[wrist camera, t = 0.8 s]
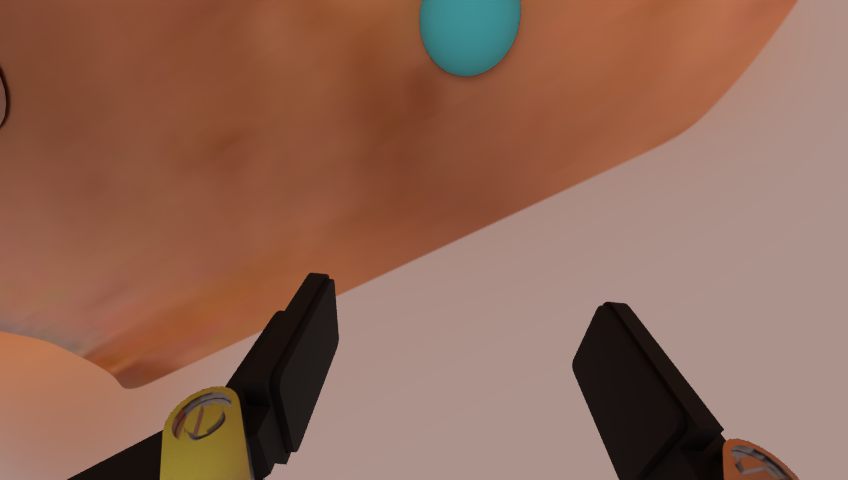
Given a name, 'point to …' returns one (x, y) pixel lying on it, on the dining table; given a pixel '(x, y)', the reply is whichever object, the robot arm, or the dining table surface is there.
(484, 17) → the ball
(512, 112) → the dining table surface
